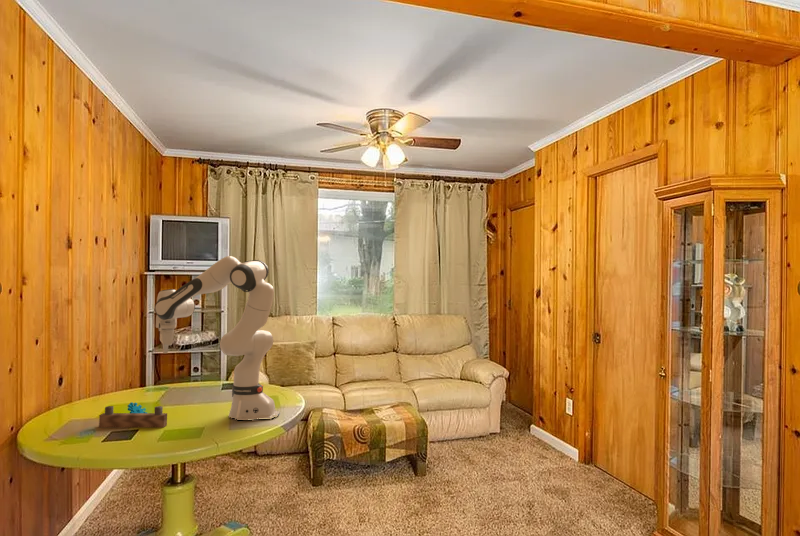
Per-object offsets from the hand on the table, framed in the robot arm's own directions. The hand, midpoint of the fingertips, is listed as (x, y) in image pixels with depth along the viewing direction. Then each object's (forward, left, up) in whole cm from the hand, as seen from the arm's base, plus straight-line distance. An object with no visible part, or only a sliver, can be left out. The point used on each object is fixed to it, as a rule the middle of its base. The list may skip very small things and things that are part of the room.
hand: (165, 352), depth 219 cm
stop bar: (+2, +24, -27) cm, 36 cm away
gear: (+4, +15, -27) cm, 31 cm away
